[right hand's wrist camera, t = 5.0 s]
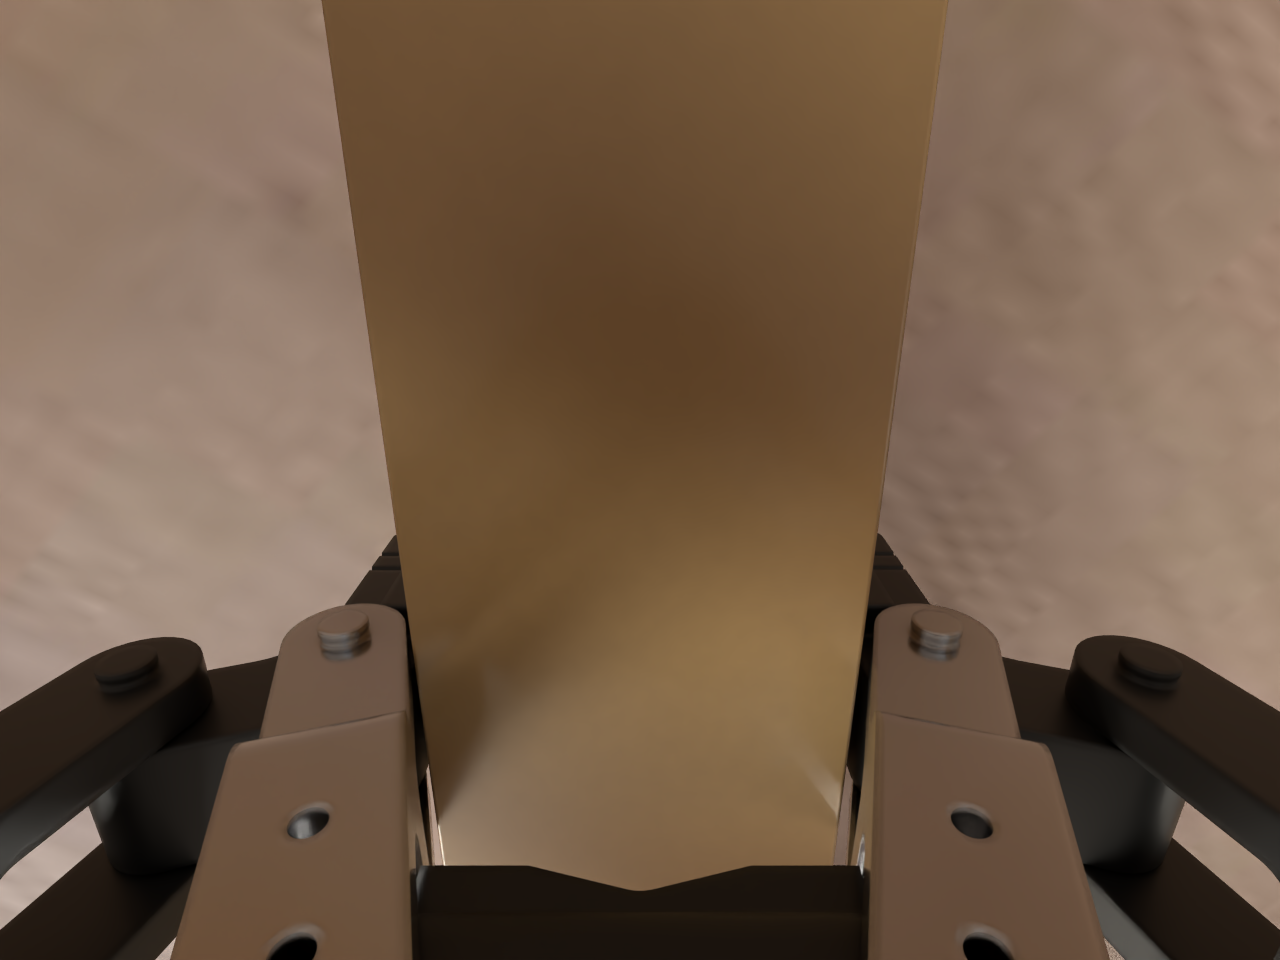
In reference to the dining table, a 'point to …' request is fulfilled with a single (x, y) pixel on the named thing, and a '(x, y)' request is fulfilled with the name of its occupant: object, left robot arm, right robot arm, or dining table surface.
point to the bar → (636, 402)
